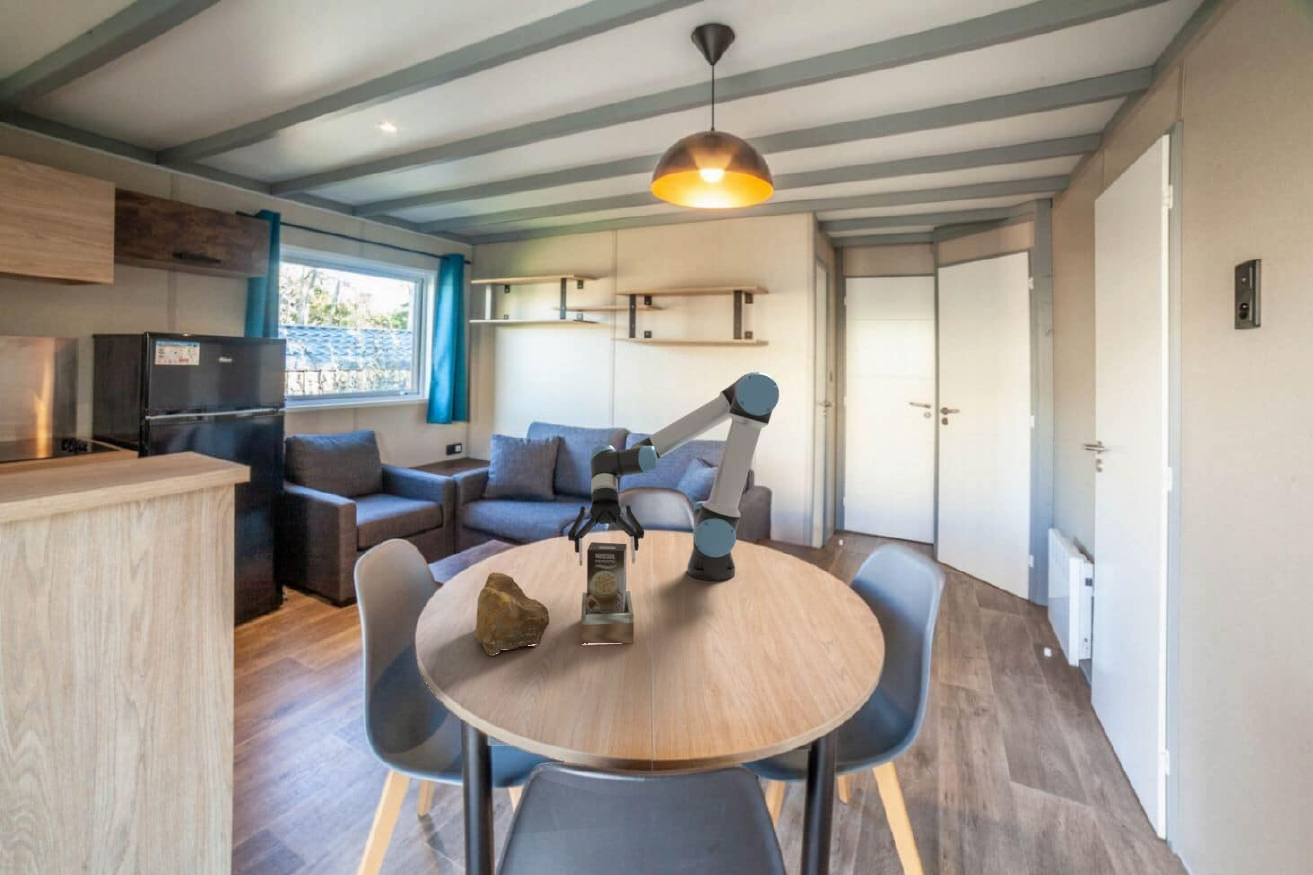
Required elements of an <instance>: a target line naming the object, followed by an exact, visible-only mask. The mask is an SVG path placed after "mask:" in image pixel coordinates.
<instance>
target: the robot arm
mask: <svg viewBox="0 0 1313 875" xmlns="http://www.w3.org/2000/svg"><path fill="white" fill-rule="evenodd" d="M779 399H780V390H779V386H778V384H777V382H776V381H775V380H774V378H773V377H771V376H770V375H769V374H768V373H764V372H760V371H753V372H749V373H746V374H744V375H742V376H740V377H739V378H738V379H737V380H736V381H734V382H733V383H732V384H731V385H729V386H728V387H726V388H724V389H722V390H721V391H720V393H719V396H717V397H716V398H713V399H712V400H711V401H709V402H708V401H707V403H704V405H701V406H700V407H698V408H697V409H694V410H693V411H691V412H689V413H688V414H686V415H684V416H682V417H680V418H678V419H677V420H675V421H674V422H672V423H670V424H669V425H667V426H665V427H664V428H662V429H660V430H658V431H656V432H655V433H653V434H651V435H650V436H647V437H646V438H644V439H642V440H641V441H638V442H635V443H634V444H632V446H631V447H630V448H628V449H621V450H616V448H615V447H614V446H612V445H611V444H608V445H607V444H599V445H597V446H595V447H594V448H593V449H592V451H591V454H590V455H591V457H590V473H591V474H590V476H591V480H590V481H591V482H590V484H591V485H590V486H591V487H590V488H591V507H590V508H586V507H585V506H581V507H580V509H579V510H580V511H579V514H578V516H577V517H576V519H575V521H574V522H573V524H572V527H571V528H570V530H569V531H568V533H567V539H568V541H569V542H571V541H572V542H574V552H575V553H577V554H579V556H578V557H579V558H578V559H579V560H578V562H579V566H583V538H584V537H585V536H586V535H587V534H588V533H589V532H590V531H591V529H593V527H596V525H597V524H600V525H604V524H607V525H611V524H613V523H614V525H615V526H618V527H619V528H620V529H621V530H622V531H623V532H624V533H626V535H628V536H629V537H630V554H631V564H635V563H636V552H637V551H639V539H640V540H642V539H644V537H645V530H644V529H643V527H642V526H641V524H640V522H639V521H638V519H637V518H636V517H635V515H634V514H633V512H632V508H631V505H630V504H628V505H626V506H625V507H620V502H619V500H620V499H619V484H618V483H619V482H618V478H619V477H624V476H631V475H636V474H643V473H644V474H645V473H646V474H647V473H650V472H654V471H657V470H658V468H659V461H658V460H659V459H660V458H662V457H665V456H666V455H668V454H669V453H671V452H672V451H675V450H676V449H678V448H680V447H682V446H684V445H685V444H687V443H689V442H691V441H693V440H694V439H697V437H699V436H701V435H703V434H705V433H706V432H708V431H710V430H712V429H714V428H716V427H717V426H719V425H721V424H722V423H724V422H727V421H728V420H730V419H731V423H730V427H729V430H728V433H727V437H726V441H725V444H724V447H723V451H722V454H721V457H720V461H719V463H718V464H719V465H718V467H717V470H716V474H715V478H714V481H713V485H712V489H711V491H710V494H709V498H708V499H707V500H703V501H702V500H701V501H695V503H694V505H693V509H692V511H693V537H692V538H693V541H692V542H693V546H692V551H691V555H690V556H689V560H688V563H687V574H688V575H689V576H691V577H692V578H694V579H695V578H696V579H699V580H704V581H723V580H729V579H731V578H733V577H734V576H735V575H736V564H735V562H734V558H733V555H732V550H733V549H734V547H735V545H736V542H737V528H738V526H739V522H740V520H741V519H740V518H741V515H742V514H741V512H740V510H739V505H740V501H741V499H742V498H741V497H742V494H743V490H744V487H745V485H746V481H747V477H748V475H749V470H750V468H751V463H752V460H753V457H754V455H755V451H756V447H757V444H758V441H759V437H760V434H761V431H762V429H763V428H765V427H767V426H768V425H769V423H770V420H771V417H772V412H773V411H774V409H775V408H776V406H777V405H778V403H779ZM621 514H623V515H624V517H626V519H627V520H628V522H629V523H630V525H629V523H627V522H626V521H625V520H624V519H623V518H622V516H621ZM588 515H591V517H590V518H589V520H588V521H587V523H585V524H584V525H583V526H582V524H583V522H584V520H585V518H586V517H588ZM581 526H582V527H581ZM580 527H581V529H580Z"/></svg>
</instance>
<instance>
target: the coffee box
mask: <svg viewBox="0 0 1313 875" xmlns="http://www.w3.org/2000/svg"><path fill="white" fill-rule="evenodd" d="M627 546H628V545H627V543H618V542H617V543H616V542H615V543H612V542H596V541H595V542H590V543H589V545H588V548H587V550H586V552H587V554H586V555H587V556H586V560H587V562H586V565H587V566H586V567H587V569H586V593H587V614H614V613H624V611H625V608H626V591H627V561H628V560H627V559H628V558H627V556H628V554H627V553H628V552H627V551H628V550H627V548H628V547H627Z"/></svg>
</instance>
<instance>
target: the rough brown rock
mask: <svg viewBox="0 0 1313 875" xmlns="http://www.w3.org/2000/svg"><path fill="white" fill-rule="evenodd" d="M549 624H550V615H549V610H548V608H547V607H546V606H545V605H544V604H543V603H541V602H540V601H539V600H537V599H532V598H529V596H527V595H526V594H525V593H524V591H523V589H522V588H521V587H520V586H519V584H517V582H515V580H514V578H513V577H511V576H510V575H509V574H506V573H502V572H495V571H494V572H491V573H489V574H488V576H487V578H486V581H485V584H484V586H483V588H482V589H481V590H480V593H479V594H478V597H477V608H476V625H475V634H474V640H475V642H476V643H477V644H478V643H479V644H482V645H483V649H484V651H485V652H486V653H487V655H488V654H491V655H493V654H496V653H498V652H500V653H501V652H502V651H501V649H511V650H514V649H518V648H519V646H520V647H524V646H528V645H532V644H537V643H539V644H540V642H541V641H542V637H543V634H544V632H545V631H546V630H547V628H548V626H549Z"/></svg>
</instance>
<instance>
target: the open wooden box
mask: <svg viewBox="0 0 1313 875" xmlns="http://www.w3.org/2000/svg"><path fill="white" fill-rule="evenodd" d="M631 595H632V594H631V591H630V590H626V608H625V611H624V613H614V614H587V592H582V595H581V596H582V597H581V598H582V600H581V614H580V615H581V618H580V620H581V622H580V623H581V625H580V628H581V630H580V631H581V633H580V634H581V641H580V642H581V644H584V643H586V644H588V643H634V644H635V640H634V638H635V637H634V636H635V630H634V629H635V615H634V614H635V612H634V607H633V603H632V602H633V601H632V596H631Z"/></svg>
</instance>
